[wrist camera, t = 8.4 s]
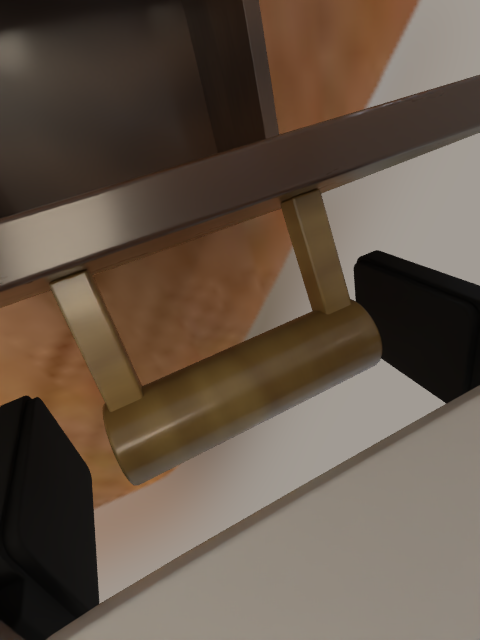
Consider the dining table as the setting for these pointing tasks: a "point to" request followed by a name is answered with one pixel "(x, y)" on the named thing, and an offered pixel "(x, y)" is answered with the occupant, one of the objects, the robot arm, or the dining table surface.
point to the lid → (205, 218)
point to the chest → (124, 91)
